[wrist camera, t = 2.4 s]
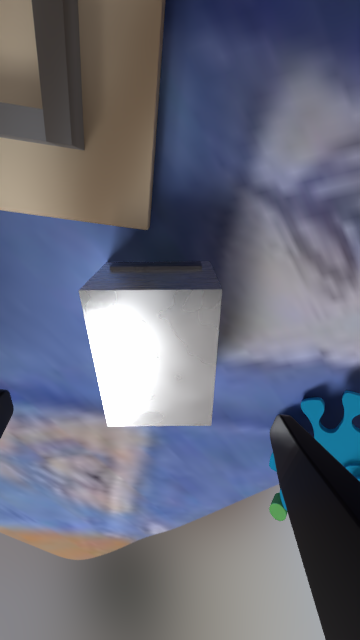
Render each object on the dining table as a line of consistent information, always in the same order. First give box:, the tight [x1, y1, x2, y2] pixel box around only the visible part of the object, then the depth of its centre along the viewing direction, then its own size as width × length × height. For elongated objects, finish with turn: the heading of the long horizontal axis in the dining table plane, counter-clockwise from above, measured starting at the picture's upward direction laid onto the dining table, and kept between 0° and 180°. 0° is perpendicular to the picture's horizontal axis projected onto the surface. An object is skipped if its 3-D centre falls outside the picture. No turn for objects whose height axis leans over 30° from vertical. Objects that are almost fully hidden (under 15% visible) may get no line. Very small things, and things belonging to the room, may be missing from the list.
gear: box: [269, 390, 360, 521], centre depth 16 cm, size 11×6×10 cm
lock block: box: [79, 261, 222, 426], centre depth 12 cm, size 5×7×4 cm
